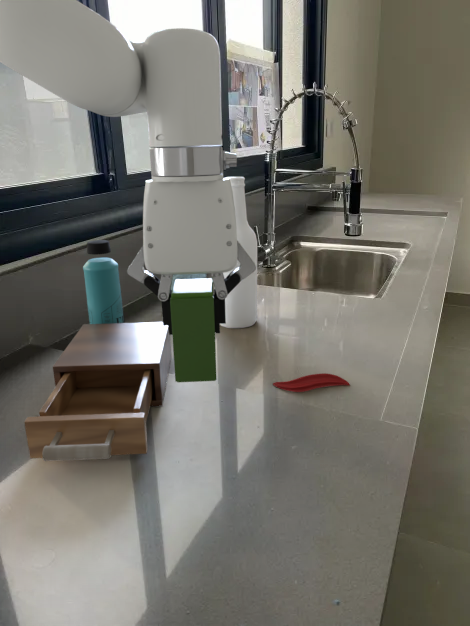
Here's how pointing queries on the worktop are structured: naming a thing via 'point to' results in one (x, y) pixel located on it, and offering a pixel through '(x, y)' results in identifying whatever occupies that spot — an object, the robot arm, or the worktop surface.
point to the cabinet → (120, 351)
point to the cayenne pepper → (311, 382)
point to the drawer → (93, 416)
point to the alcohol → (245, 293)
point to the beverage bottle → (102, 286)
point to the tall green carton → (193, 330)
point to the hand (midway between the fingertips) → (194, 328)
